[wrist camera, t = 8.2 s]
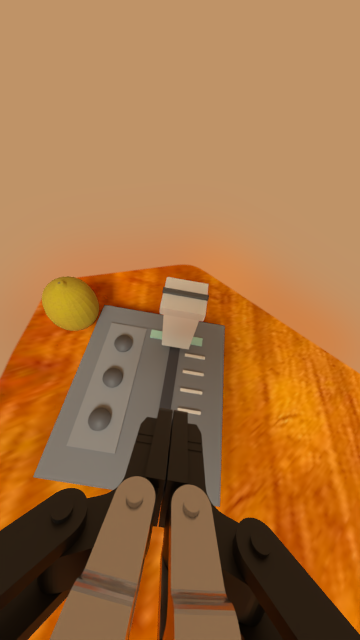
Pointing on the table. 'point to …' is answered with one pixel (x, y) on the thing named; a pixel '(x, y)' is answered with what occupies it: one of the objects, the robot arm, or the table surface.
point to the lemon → (70, 303)
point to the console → (135, 399)
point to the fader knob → (182, 311)
